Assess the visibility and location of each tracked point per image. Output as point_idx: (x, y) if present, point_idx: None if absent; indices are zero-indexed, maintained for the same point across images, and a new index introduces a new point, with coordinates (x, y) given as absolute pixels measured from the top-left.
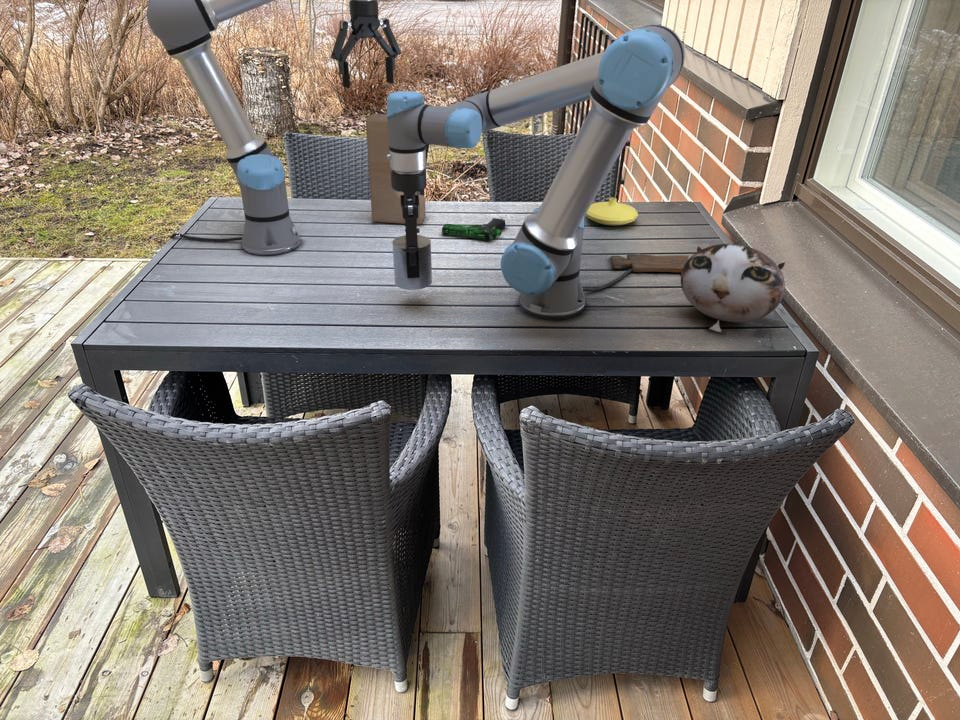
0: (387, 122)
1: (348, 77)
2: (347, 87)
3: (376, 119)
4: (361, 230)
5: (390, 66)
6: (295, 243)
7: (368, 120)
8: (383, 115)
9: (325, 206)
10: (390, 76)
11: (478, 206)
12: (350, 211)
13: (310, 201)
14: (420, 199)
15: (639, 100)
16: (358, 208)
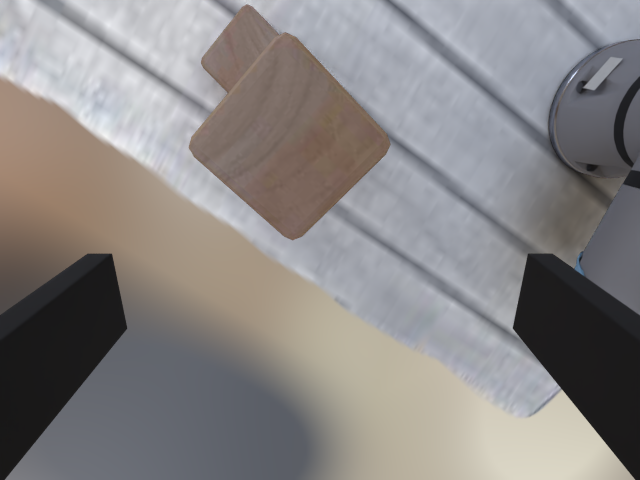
0: (301, 44)
1: (591, 297)
2: (553, 259)
3: (346, 101)
4: (398, 80)
5: (3, 338)
6: (596, 54)
7: (381, 131)
8: (265, 165)
9: (379, 275)
10: (80, 290)
11: (44, 63)
12: (350, 216)
13: (389, 319)
14: (229, 30)
15: None
16: (325, 224)
